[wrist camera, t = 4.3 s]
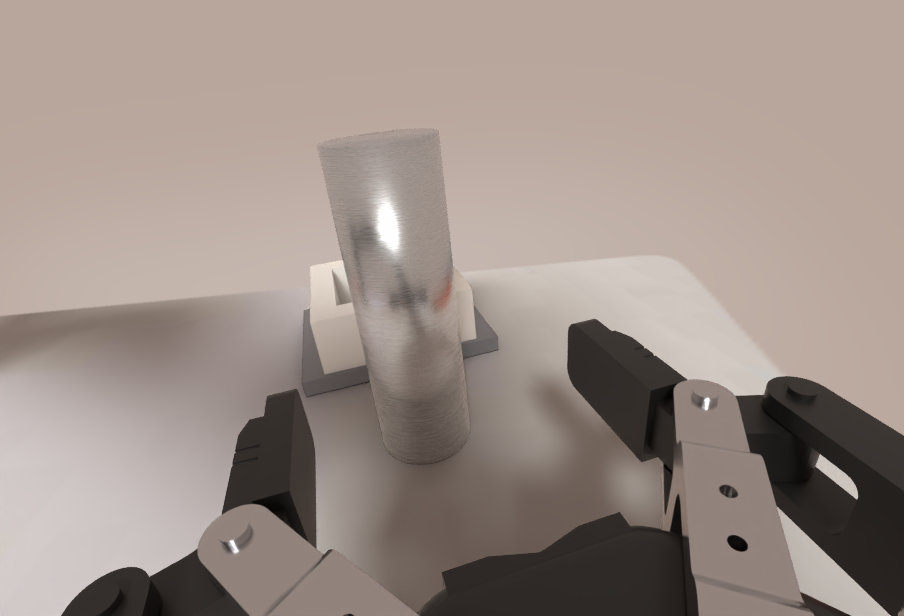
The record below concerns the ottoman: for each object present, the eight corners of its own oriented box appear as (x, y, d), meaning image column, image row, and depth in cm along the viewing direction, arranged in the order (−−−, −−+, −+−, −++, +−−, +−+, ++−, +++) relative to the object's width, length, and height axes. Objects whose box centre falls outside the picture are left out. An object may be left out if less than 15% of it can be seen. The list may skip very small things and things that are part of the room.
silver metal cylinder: (390, 475, 20) (317, 152, 14) (377, 415, 24) (316, 140, 18) (482, 448, 21) (452, 133, 15) (456, 394, 25) (423, 125, 19)
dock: (306, 396, 26) (285, 330, 24) (307, 321, 35) (291, 268, 33) (498, 349, 29) (494, 285, 27) (454, 290, 37) (448, 238, 35)
